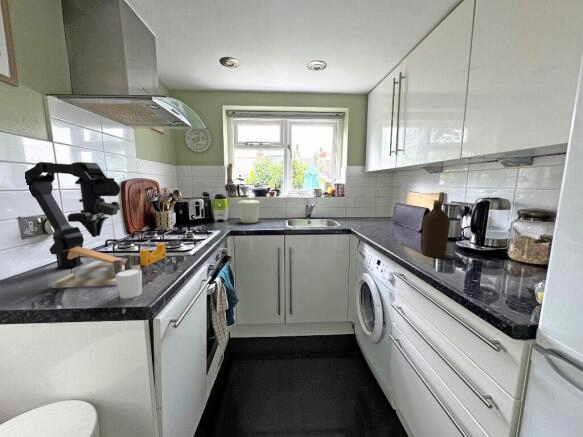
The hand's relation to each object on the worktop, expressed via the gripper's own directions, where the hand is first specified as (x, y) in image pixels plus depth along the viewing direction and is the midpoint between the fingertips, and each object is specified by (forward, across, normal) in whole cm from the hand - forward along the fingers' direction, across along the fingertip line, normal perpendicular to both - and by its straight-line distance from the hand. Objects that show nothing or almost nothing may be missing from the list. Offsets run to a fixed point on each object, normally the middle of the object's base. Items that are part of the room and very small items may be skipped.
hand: (96, 236), depth 100 cm
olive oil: (+13, +1, -142) cm, 143 cm away
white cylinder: (+13, -26, -24) cm, 38 cm away
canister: (+13, +102, -53) cm, 116 cm away
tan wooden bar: (+8, -10, -5) cm, 14 cm away
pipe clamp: (+13, +8, -16) cm, 23 cm away
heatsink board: (+13, -10, -6) cm, 17 cm away
